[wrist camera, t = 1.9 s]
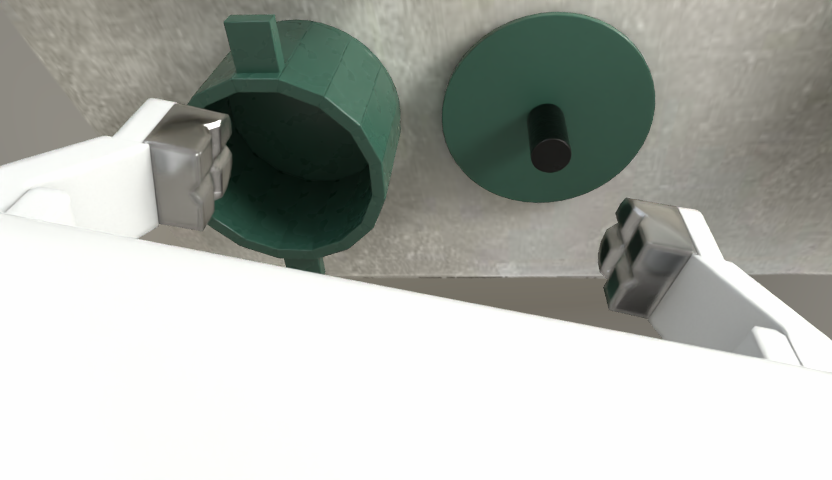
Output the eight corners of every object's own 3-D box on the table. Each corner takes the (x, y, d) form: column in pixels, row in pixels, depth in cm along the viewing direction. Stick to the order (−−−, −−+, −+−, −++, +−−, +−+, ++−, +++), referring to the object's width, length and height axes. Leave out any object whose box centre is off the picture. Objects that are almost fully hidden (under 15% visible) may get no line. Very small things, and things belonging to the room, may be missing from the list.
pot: (391, -29, 35) (368, 25, 28) (407, 214, 46) (394, 291, 40) (186, -25, 36) (119, 28, 29) (252, 210, 47) (215, 285, 41)
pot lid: (673, 6, 34) (700, 44, 30) (629, 195, 43) (645, 245, 39) (441, 9, 36) (434, 46, 31) (444, 192, 44) (439, 240, 40)
